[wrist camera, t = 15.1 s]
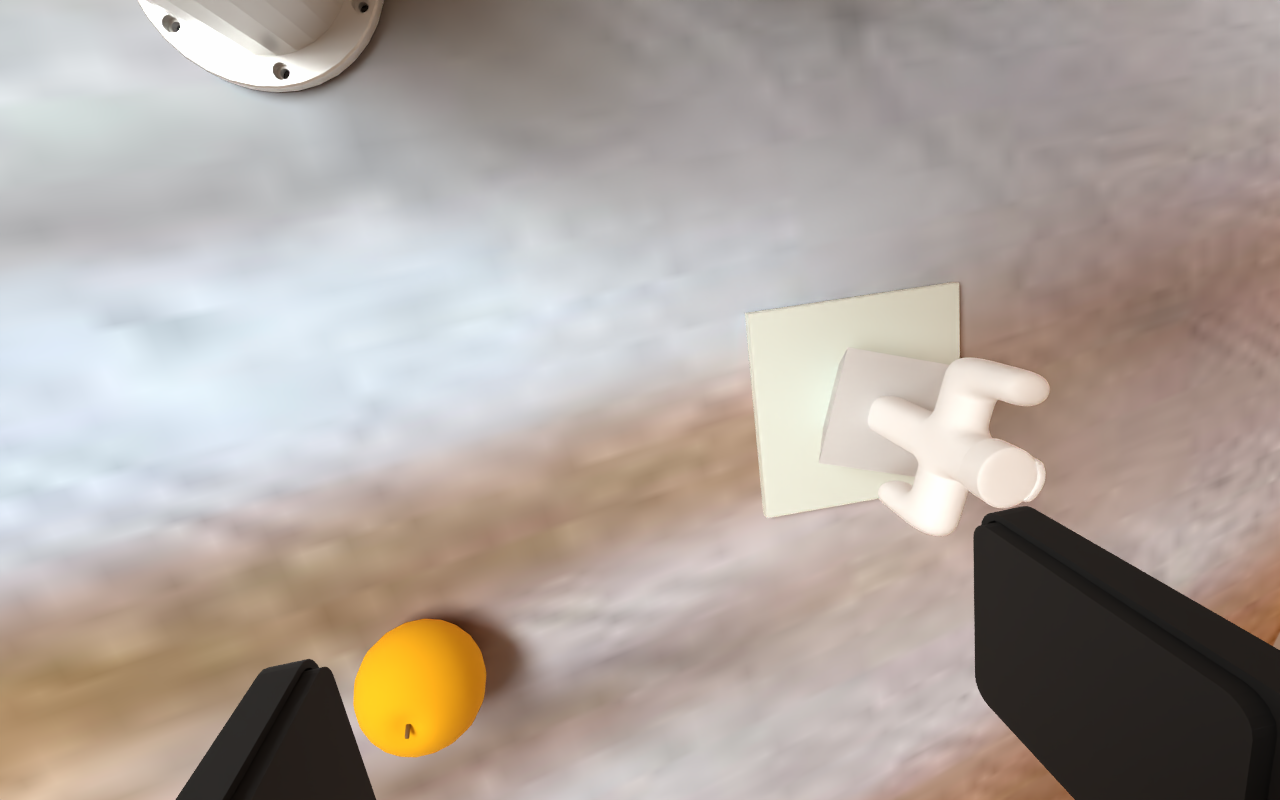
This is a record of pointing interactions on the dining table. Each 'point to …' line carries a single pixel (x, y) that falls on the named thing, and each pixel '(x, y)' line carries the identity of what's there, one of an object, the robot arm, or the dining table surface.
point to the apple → (419, 688)
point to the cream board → (832, 383)
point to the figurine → (931, 433)
